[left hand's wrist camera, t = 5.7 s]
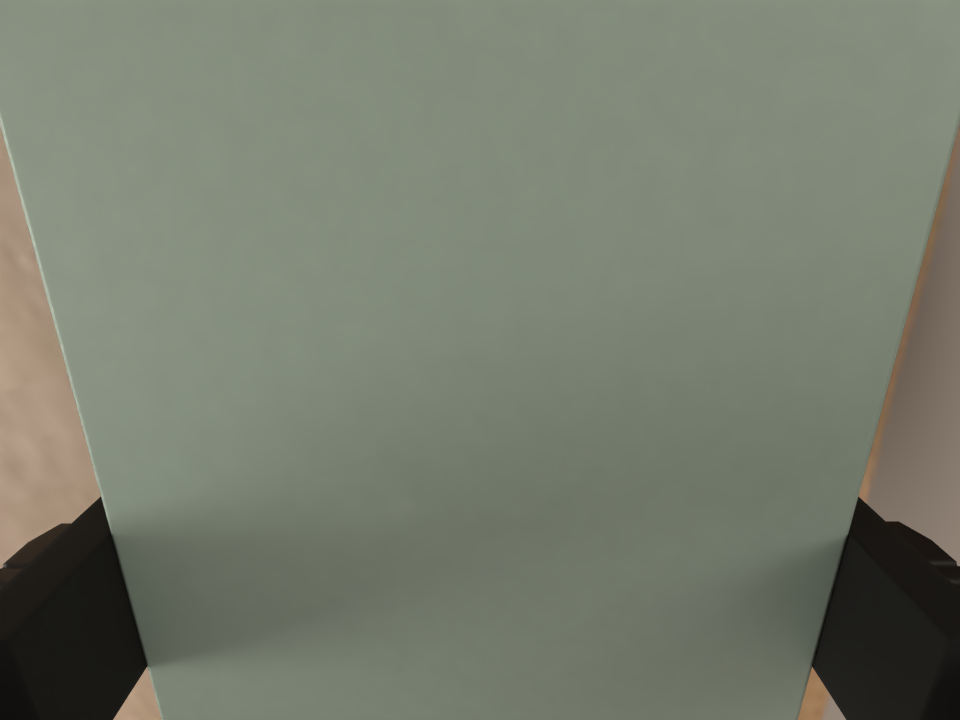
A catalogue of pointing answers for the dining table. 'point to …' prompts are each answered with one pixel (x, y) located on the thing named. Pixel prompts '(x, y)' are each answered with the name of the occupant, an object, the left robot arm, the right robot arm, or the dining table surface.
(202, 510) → the cabinet
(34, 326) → the dining table surface
